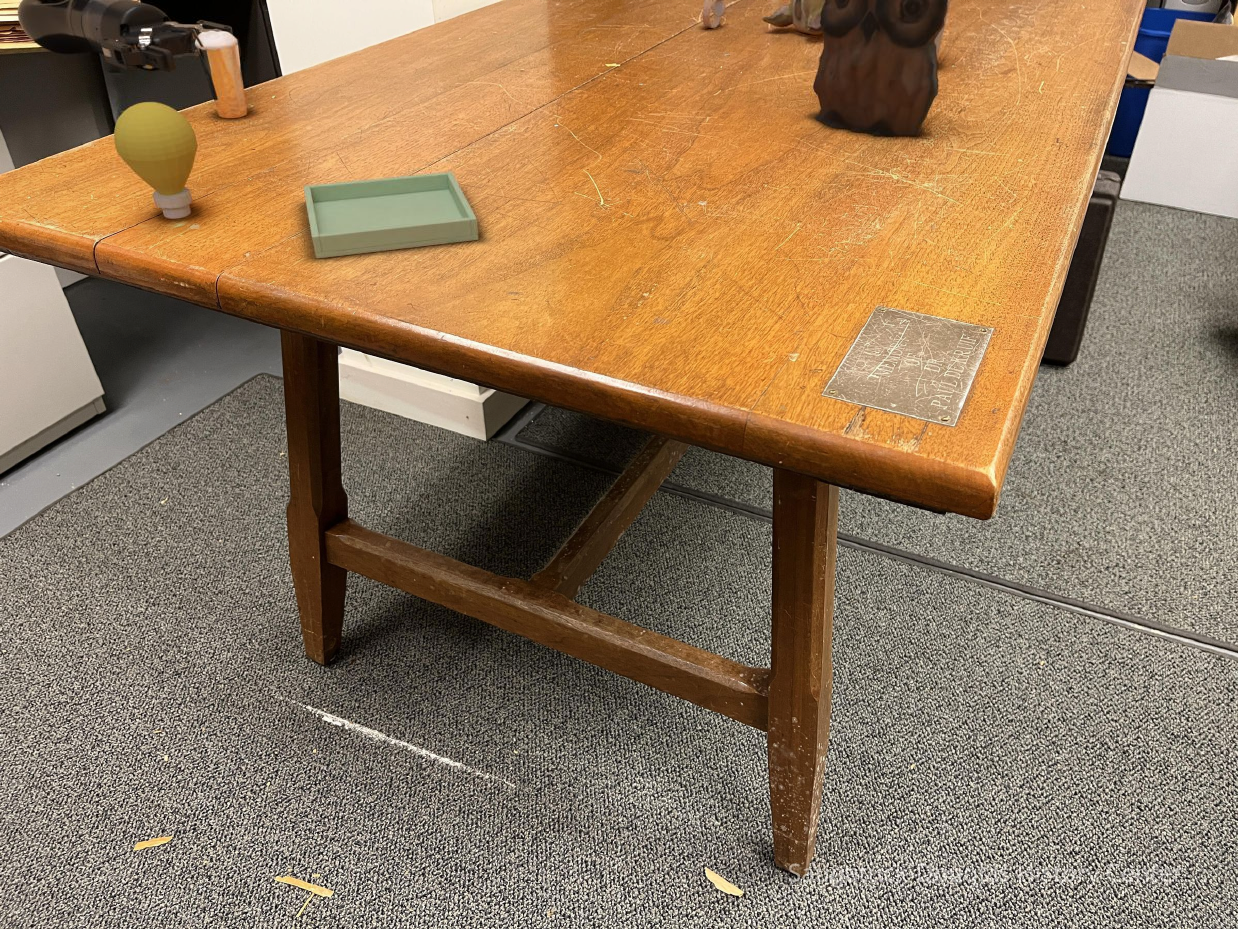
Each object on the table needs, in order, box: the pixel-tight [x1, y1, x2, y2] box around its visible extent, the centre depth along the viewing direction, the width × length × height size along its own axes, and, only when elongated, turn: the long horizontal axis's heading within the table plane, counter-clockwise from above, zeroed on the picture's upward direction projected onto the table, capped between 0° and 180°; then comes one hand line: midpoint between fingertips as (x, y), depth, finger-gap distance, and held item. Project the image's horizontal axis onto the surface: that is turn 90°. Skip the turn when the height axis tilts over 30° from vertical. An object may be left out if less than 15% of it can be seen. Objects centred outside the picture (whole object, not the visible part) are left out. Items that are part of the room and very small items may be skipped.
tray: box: [302, 171, 479, 260], centre depth 84 cm, size 14×12×2 cm
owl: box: [812, 0, 949, 137], centre depth 105 cm, size 13×13×20 cm
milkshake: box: [191, 29, 248, 119], centre depth 105 cm, size 4×5×10 cm
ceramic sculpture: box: [762, 0, 825, 36], centre depth 146 cm, size 11×9×15 cm
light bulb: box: [113, 101, 198, 220], centre depth 82 cm, size 7×7×10 cm
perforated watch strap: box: [701, 0, 727, 29], centre depth 148 cm, size 3×5×5 cm, turn 148°
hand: (205, 54), depth 105 cm, fingers open, 8 cm apart
